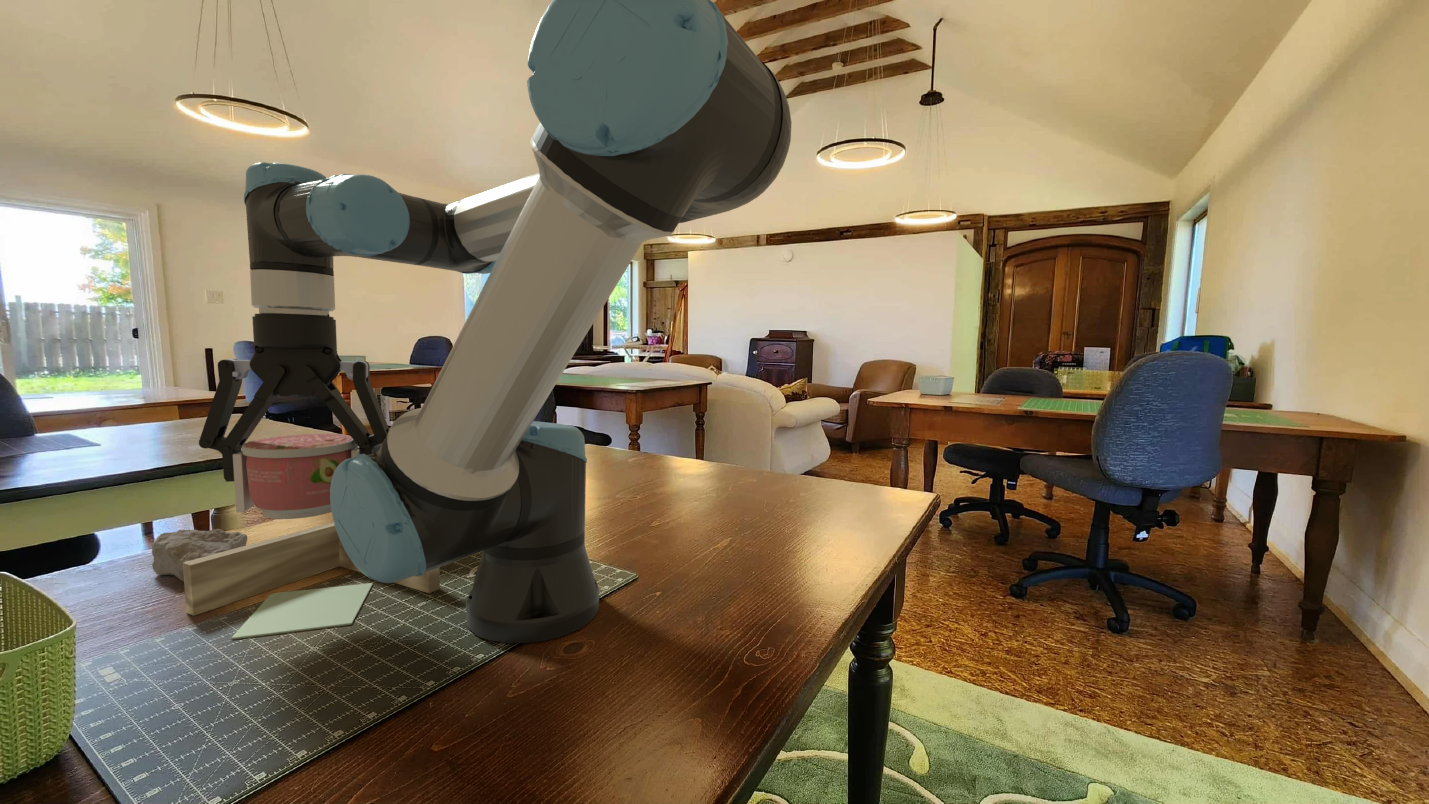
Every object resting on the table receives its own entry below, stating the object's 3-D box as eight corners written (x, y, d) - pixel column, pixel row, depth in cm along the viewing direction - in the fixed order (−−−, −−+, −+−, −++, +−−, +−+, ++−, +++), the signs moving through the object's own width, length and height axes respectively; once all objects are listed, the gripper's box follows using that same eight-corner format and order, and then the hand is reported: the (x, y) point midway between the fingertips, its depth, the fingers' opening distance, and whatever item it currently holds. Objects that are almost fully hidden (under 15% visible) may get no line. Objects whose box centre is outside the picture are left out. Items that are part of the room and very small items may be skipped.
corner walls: (439, 588, 74) (438, 543, 73) (287, 656, 57) (284, 599, 57) (343, 560, 82) (342, 519, 81) (186, 612, 65) (182, 562, 65)
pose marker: (372, 584, 74) (372, 582, 74) (351, 624, 64) (351, 622, 64) (271, 594, 70) (271, 593, 70) (231, 639, 60) (231, 637, 60)
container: (231, 527, 59) (226, 452, 58) (262, 500, 68) (258, 435, 67) (350, 517, 63) (347, 447, 62) (363, 493, 73) (361, 431, 72)
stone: (214, 587, 72) (210, 543, 72) (127, 590, 71) (122, 545, 70) (257, 562, 80) (253, 522, 79) (179, 564, 79) (175, 524, 78)
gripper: (415, 318, 71) (419, 490, 73) (183, 309, 63) (196, 503, 65) (405, 316, 64) (410, 507, 66) (143, 306, 56) (159, 523, 58)
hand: (304, 505), depth 66 cm, fingers closed on container, 10 cm apart
